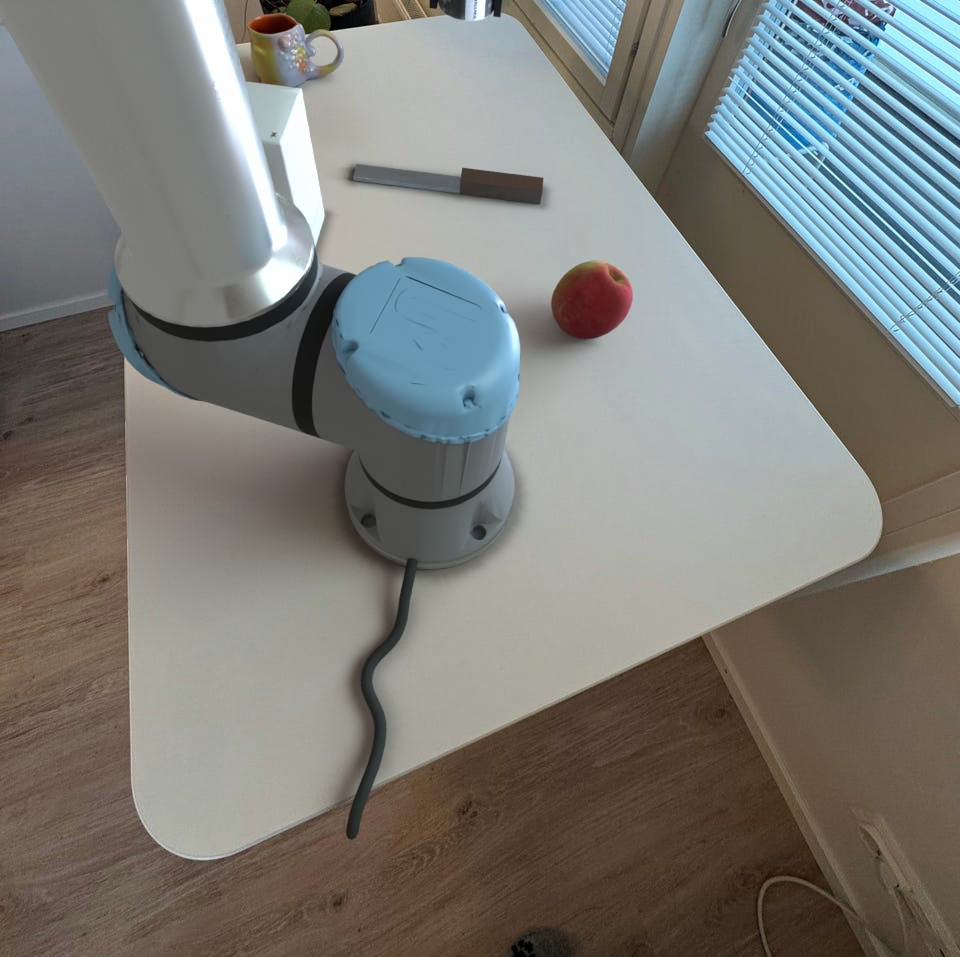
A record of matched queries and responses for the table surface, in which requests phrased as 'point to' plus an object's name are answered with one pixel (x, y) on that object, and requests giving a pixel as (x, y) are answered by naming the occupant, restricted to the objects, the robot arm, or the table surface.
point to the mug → (287, 50)
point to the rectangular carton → (288, 148)
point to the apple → (591, 300)
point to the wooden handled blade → (459, 182)
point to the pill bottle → (467, 9)
